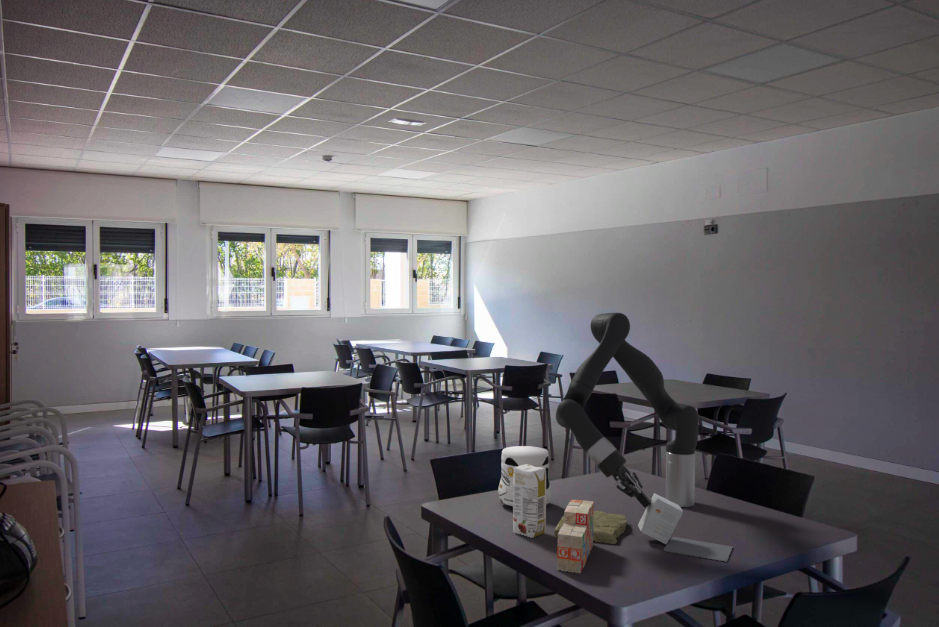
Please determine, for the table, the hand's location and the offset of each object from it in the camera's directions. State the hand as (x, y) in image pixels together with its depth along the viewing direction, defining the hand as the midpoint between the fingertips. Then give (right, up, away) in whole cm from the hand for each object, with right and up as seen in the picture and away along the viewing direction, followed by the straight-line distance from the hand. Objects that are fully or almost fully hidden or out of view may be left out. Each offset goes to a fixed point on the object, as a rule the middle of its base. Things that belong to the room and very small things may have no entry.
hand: (648, 505), depth 188 cm
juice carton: (-33, -10, +5) cm, 35 cm away
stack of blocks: (-22, -10, -13) cm, 28 cm away
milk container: (-32, -9, +32) cm, 46 cm away
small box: (+1, -8, 0) cm, 8 cm away
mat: (+12, -10, -6) cm, 17 cm away
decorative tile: (-14, -10, +9) cm, 20 cm away
